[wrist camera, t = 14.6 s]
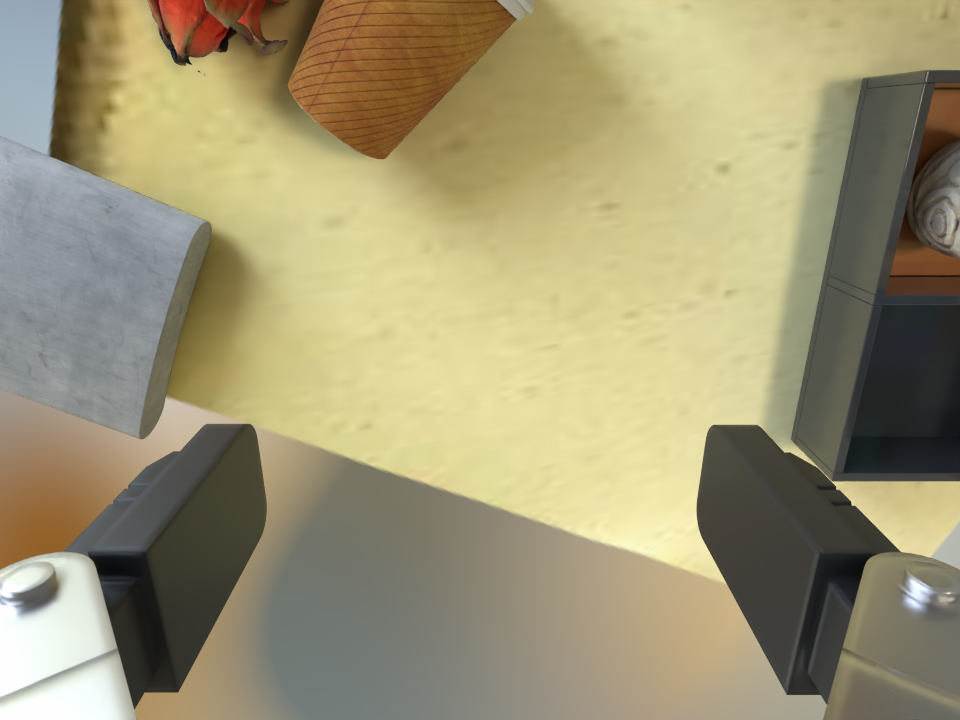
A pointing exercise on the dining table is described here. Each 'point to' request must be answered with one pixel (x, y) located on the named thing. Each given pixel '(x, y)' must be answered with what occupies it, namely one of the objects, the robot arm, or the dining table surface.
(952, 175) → the carving
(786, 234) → the dining table surface
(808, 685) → the robot arm
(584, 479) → the dining table surface
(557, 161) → the dining table surface
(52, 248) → the hip flask
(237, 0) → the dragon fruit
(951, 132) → the storage box with compartments
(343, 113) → the disposable coffee cup
